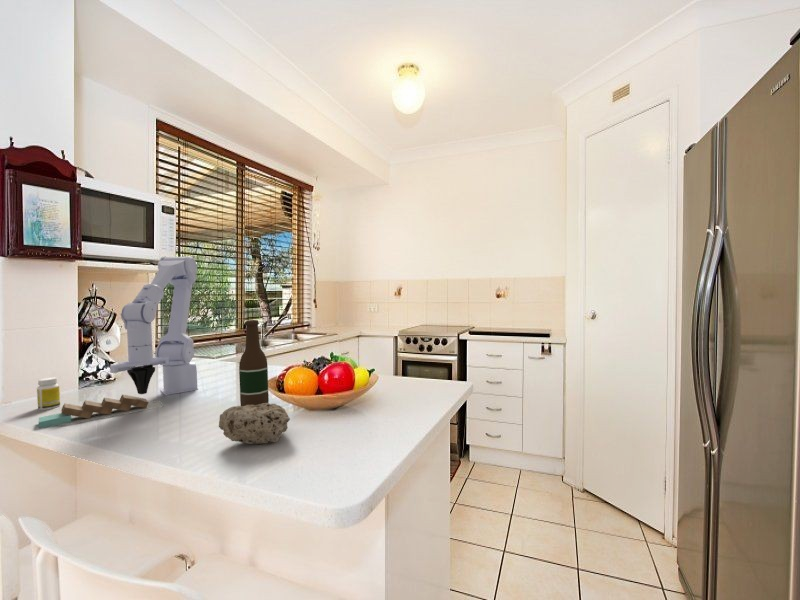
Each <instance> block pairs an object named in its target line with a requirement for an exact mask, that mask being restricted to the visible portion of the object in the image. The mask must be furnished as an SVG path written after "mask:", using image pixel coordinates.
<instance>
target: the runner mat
mask: <svg viewBox="0 0 800 600" xmlns="http://www.w3.org/2000/svg"><path fill="white" fill-rule="evenodd" d="M148 402H149V403H148V405H147V407H146V408H143V407H138V406H132V405H131V408H130V410H129V411H124V410H118V409H112V412H111V414H110V415H108V414H102V413H95V412H93V413H92V415H91V417H90V418H84V417H78V416H72V415H71V420H72V422H67V423H63V424H60V426H61V427H62V426H68V425H72V424H73V425H74V424H78V423H84V422H90V421H94V420H95V421H96V420H99V419H106V418H109V417H110V418H111V417H115V416H120V415H125V414H132V413H137V412H143V411H149V410H153V409H157V408H163V407H165V405H163V403H162V402H161V401H160V400H159V399H157V400H152V401H148Z"/></svg>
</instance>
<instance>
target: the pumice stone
mask: <svg viewBox="0 0 800 600" xmlns="http://www.w3.org/2000/svg"><path fill="white" fill-rule="evenodd" d="M290 420H291V418H290V417H289V414H288V413H287V411H286V409H285V408H284V407H282V406H281V405H279V404H276V403H262V404H258V405H246V406H241V405H236V406H231V407H228V408H227V409H224V411H223V412H222V413H221V414H220V415H219V421H218V428H219V429H220V430H221V431H223V432H222V433H223V435H224V436H225V438H228V439H229V440H230V441H232V442H237V443H238V442H240V443H245V444H247V445H253V444H256V445H259V444H260V445H261V444H268V443H269V442H270V443H277V442H278V441H279V440H280V437H281V436H282V434H283V433H285V432H287V429H288V423H289V421H290Z"/></svg>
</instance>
